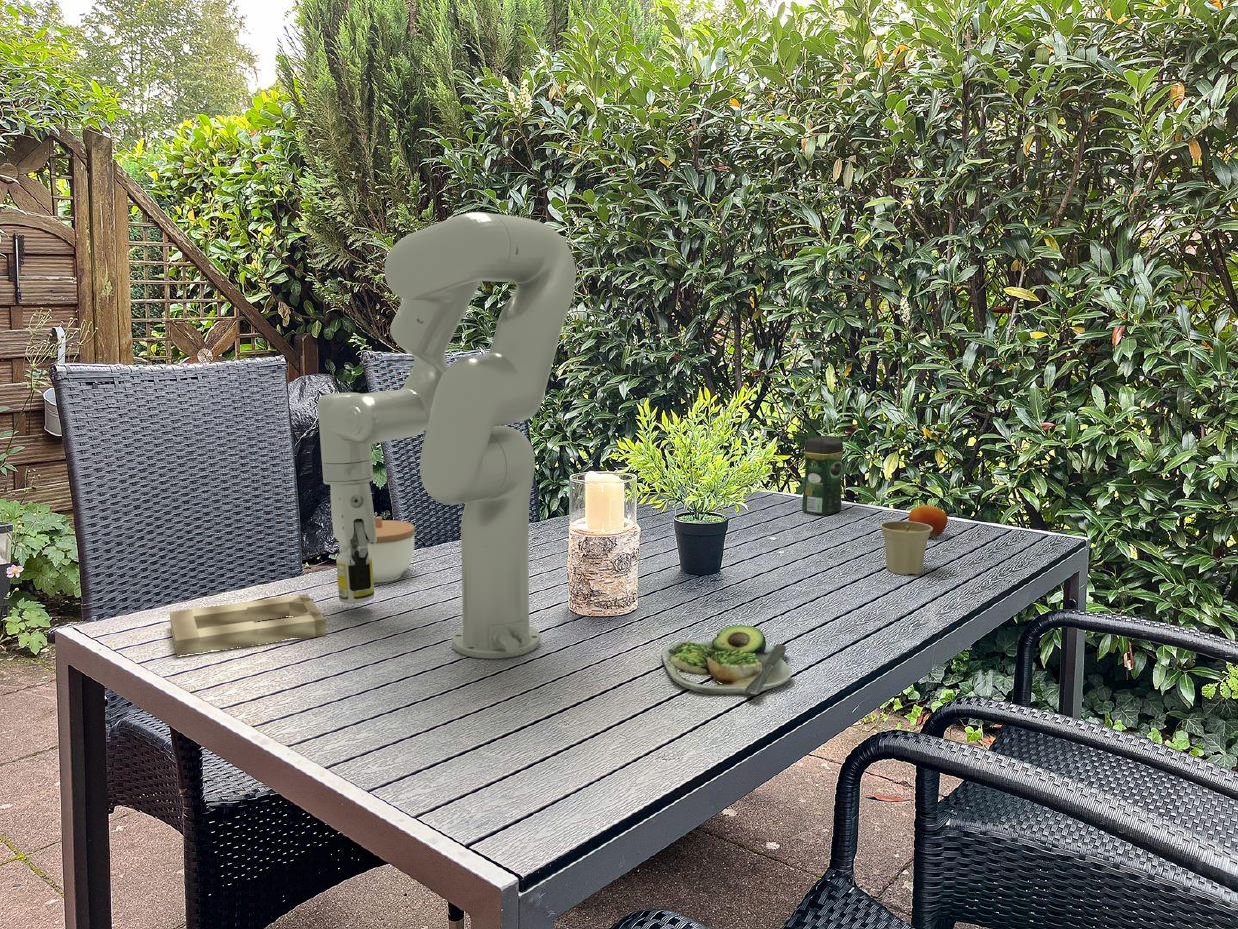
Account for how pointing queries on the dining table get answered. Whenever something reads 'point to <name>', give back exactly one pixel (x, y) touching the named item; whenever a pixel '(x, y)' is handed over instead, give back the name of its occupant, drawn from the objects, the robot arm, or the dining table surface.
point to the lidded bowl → (391, 549)
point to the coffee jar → (822, 475)
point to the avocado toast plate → (729, 662)
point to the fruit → (930, 518)
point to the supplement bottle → (343, 579)
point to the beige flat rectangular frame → (245, 624)
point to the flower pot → (905, 545)
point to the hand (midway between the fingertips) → (355, 583)
